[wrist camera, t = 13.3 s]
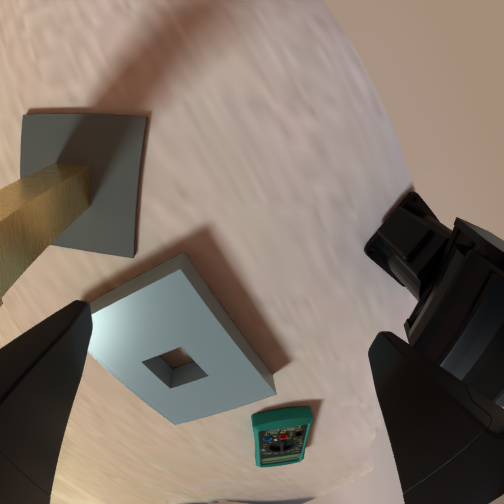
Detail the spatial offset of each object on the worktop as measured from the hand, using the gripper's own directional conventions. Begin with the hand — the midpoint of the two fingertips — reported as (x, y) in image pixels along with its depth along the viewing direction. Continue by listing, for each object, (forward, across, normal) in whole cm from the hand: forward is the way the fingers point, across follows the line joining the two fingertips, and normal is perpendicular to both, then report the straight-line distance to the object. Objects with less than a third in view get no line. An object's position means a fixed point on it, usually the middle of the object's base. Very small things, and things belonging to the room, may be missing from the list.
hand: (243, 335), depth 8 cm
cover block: (+13, +2, +14) cm, 19 cm away
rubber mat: (+13, +11, 0) cm, 17 cm away
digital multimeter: (+14, -12, +31) cm, 36 cm away
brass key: (+13, +11, 0) cm, 17 cm away
